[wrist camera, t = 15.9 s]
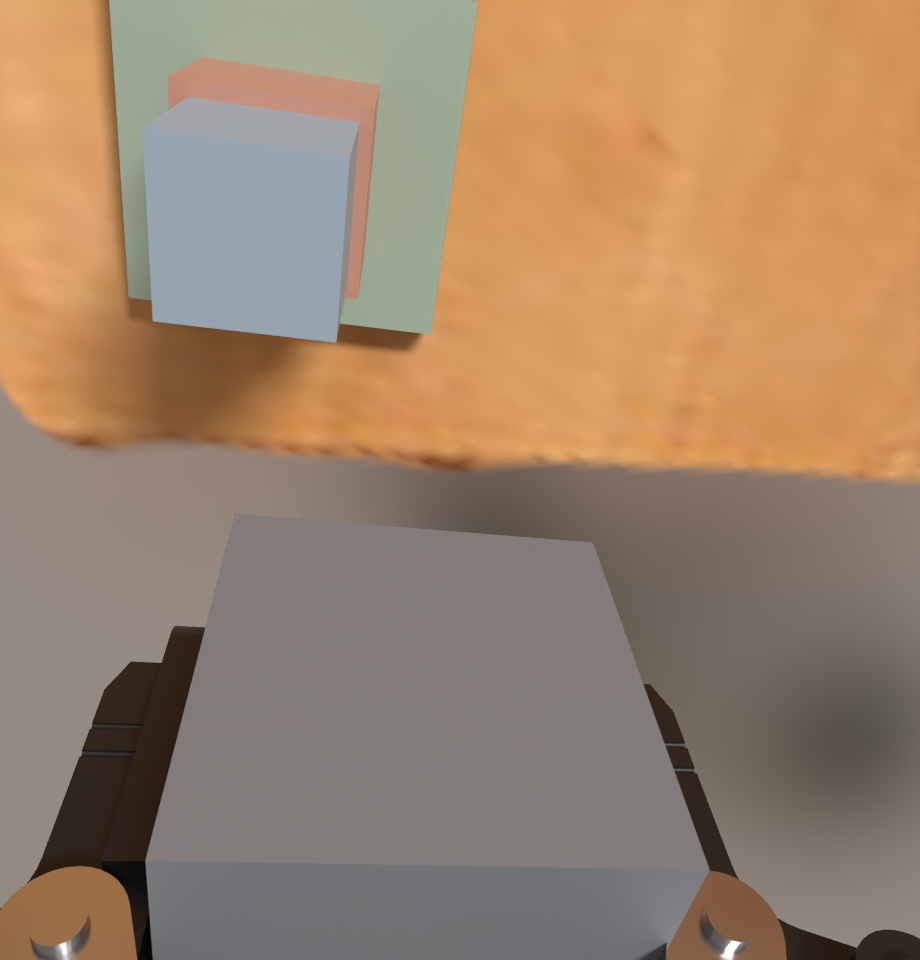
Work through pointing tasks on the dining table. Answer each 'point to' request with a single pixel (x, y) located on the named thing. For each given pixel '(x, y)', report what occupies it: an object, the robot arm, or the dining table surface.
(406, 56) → the build plate
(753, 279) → the dining table surface
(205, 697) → the slate brick
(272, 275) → the blue brick
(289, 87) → the base brick
